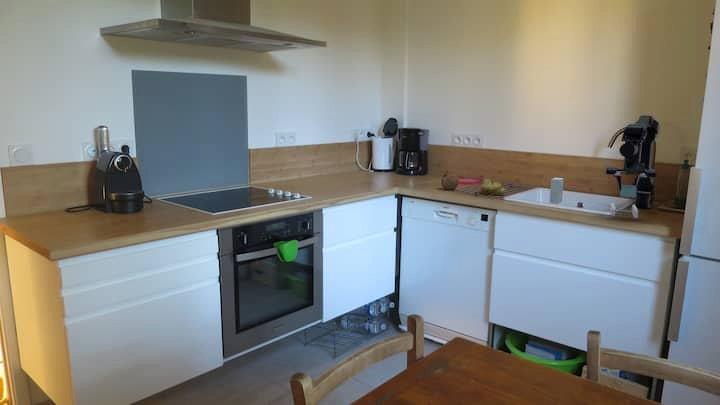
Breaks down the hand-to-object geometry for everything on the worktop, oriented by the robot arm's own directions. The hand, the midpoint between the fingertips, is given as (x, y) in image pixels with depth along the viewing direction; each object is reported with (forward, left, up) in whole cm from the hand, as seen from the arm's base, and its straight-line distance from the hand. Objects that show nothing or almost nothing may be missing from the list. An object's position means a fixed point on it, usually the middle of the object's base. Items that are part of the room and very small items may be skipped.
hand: (627, 191), depth 219 cm
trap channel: (-9, 0, -11) cm, 15 cm away
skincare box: (-22, -29, -12) cm, 38 cm away
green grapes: (-31, -61, -12) cm, 69 cm away
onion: (-34, -85, -12) cm, 92 cm away
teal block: (+1, 0, -2) cm, 2 cm away
